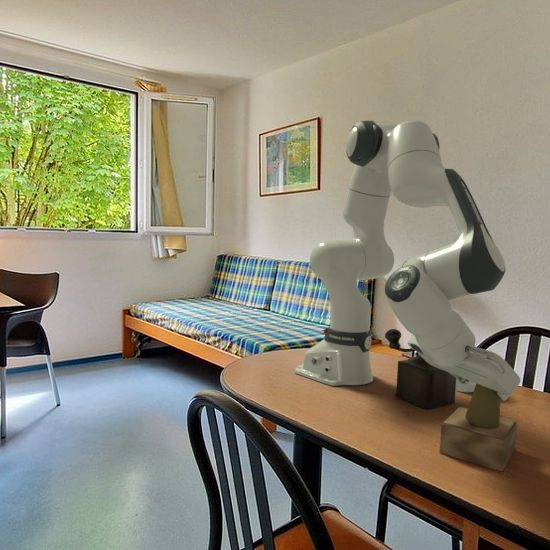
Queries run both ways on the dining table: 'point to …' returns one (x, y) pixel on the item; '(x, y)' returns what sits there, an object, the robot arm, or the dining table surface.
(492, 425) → the olive knobbed peg
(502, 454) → the walnut block
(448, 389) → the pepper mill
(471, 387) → the white cup
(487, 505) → the dining table surface
